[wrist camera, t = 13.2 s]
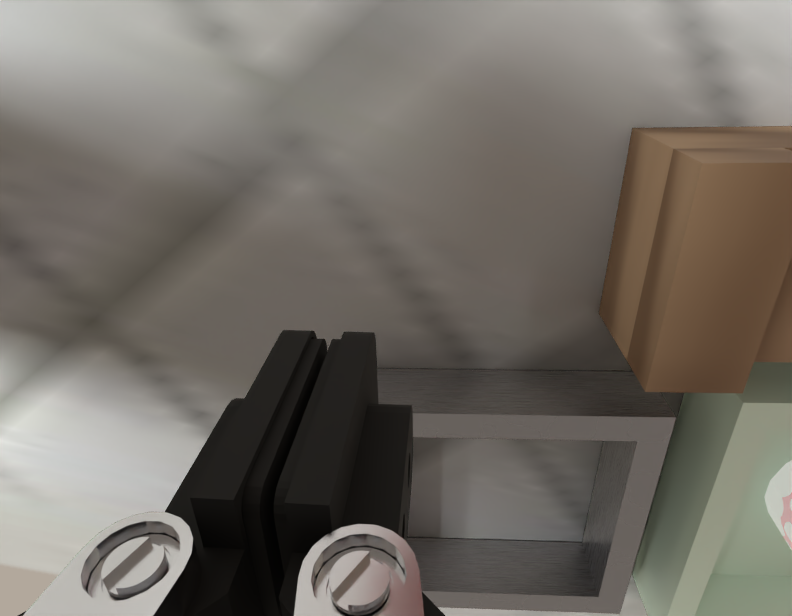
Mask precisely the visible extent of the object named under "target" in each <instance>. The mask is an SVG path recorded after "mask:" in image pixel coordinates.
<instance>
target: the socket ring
mask: <svg viewBox="0 0 792 616" xmlns="http://www.w3.org/2000/svg"><path fill="white" fill-rule="evenodd" d="M377 380H378V402H379V404H394V405H412V409H413V437H427V438H481V439H535V440H590V441H603V446H602V450H601V455H600V460H599V464H598V469H597V474H596V479H595V483H594V488H593V493H592V498H591V502H590V507H589V512H588V516H587V521H586V526H585V531H584V535H583V540H582V543H581V542H546V541H511V540H477V539H442V538H407V544H408V545H409V546H410V548H411V549H412V550H413V552H414V553H415V557H416V560H417V563H418V567H419V572H420V581H421V590H422V592H423V593H424V594H425V595H426V596H427V597H428V598H429V599H430V600H431V601H432V602H433V603H434V604H435V606H436V607H450V608H478V609H506V610H534V611H561V612H589V613H617V614H620V611H621V608H622V605H623V601H624V598H625V594H626V591H627V587H628V584H629V580H630V577H631V573H632V570H633V566H634V563H635V559H636V556H637V552H638V549H639V545H640V542H641V538H642V535H643V532H644V528H645V525H646V521H647V518H648V514H649V511H650V507H651V504H652V500H653V497H654V493H655V490H656V486H657V483H658V479H659V476H660V472H661V469H662V465H663V462H664V459H665V455H666V452H667V448H668V445H669V441H670V438H671V434H672V431H673V427H674V424H675V420H676V416H675V415H674V413H673V412H672V410H671V408H670V407H669V405H668V404H667V402H666V401H665V399H664V398H663V396H662V394H661V393H660V392H645V391H644V389H643V387H642V386H641V384H640V382H639V381H638V379H637V377H636V376H635V374H634V372H631V371H544V370H457V369H377Z"/></svg>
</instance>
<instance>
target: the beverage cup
mask: <svg viewBox="0 0 792 616" xmlns="http://www.w3.org/2000/svg"><path fill="white" fill-rule="evenodd" d="M764 498H765V502H766V505H767V509H768V513H769V514H770V516H771V518H772V519H773V521H774V522H775V524H776V526H777V527H778V529H779V531H780V532H781V534H782V536H783V537H784V539H785V541H786V542H787V544H788V545H789V547H790V549H791V550H792V460H791V461H790V462H788V463H786V464H785V465H784V466H783V467H782V468H781V469H780V470H779V472H778V473H777V474H776V475H775V476H774V477H773V478H772V479H771V480H770V483H769V486H768V488H767V491H766V494H765V497H764Z"/></svg>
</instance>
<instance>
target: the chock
mask: <svg viewBox="0 0 792 616" xmlns="http://www.w3.org/2000/svg"><path fill="white" fill-rule="evenodd" d="M599 315H600V317H601V318H602V320H603V322H604V323H605V325H606V327H607V328H608V330H609V332H610V333H611V335H612V337H613V338H614V340H615V342H616V344H617V345H618V347H619V349H620V350H621V352H622V354H623V355H624V357H625V359H626V360H627V362H628V364H629V365H630V367H631V369H632V370H633V372H634V374H635V376H636V377H637V379H638V381H639V382H640V384H641V386H642V387H643V389H644V391H645V392H681V393H743V391H744V389H745V386H746V383H747V380H748V377H749V375H750V372H751V369H752V366H753V363H754V362H792V126H763V127H672V128H632V133H631V138H630V144H629V149H628V155H627V160H626V166H625V171H624V177H623V182H622V188H621V193H620V199H619V204H618V210H617V215H616V221H615V226H614V232H613V237H612V243H611V248H610V254H609V259H608V265H607V270H606V276H605V281H604V287H603V292H602V298H601V303H600V309H599Z"/></svg>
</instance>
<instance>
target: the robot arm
mask: <svg viewBox="0 0 792 616" xmlns="http://www.w3.org/2000/svg"><path fill="white" fill-rule="evenodd" d="M412 462H413V409H412V405H394V404H379V402H378V380H377V357H376V338H375V334H374V333H369V332H344V333H343V335H342V338H341V339H333V340H332V341H331V344H330V346H329V349H328V352H327V345H326V341H325V339H317V338H316V334H315V332H314V331H295V330H284V331H282V333H281V334H280V336H279V338H278V339H277V341H276V343H275V345H274V347H273V348H272V350H271V352H270V354H269V356H268V357H267V359H266V361H265V363H264V365H263V366H262V368H261V370H260V372H259V374H258V375H257V377H256V379H255V381H254V383H253V384H252V386H251V388H250V390H249V392H248V393H247V395H246V397H245V399H240V398H236V399H234V400H232V401H231V402H230V403H229V405H228V406H227V407H226V409H225V411H224V413H223V414H222V416H221V418H220V419H219V421H218V423H217V424H216V426H215V428H214V429H213V431H212V433H211V435H210V436H209V438H208V440H207V441H206V443H205V445H204V446H203V448H202V450H201V451H200V453H199V455H198V457H197V458H196V460H195V462H194V463H193V465H192V467H191V468H190V470H189V472H188V473H187V475H186V477H185V479H184V480H183V482H182V484H181V485H180V487H179V489H178V490H177V492H176V494H175V495H174V497H173V499H172V501H171V502H170V504H169V506H168V507H167V509H166V511H165V512H147V513H142V514H137V515H133V516H130V517H128V518H125V519H123V520H120V521H118V522H115V523H114V524H112V525H110V526H109V527H107V528H106V529H104V530H103V531H101V532H99V533H98V534H97V535H96V536H95V537H94V538H92V539H91V540H90V541H89V542H88V543H87V544H86V545H85V546H84V547H83V548H82V549H81V550H80V551H79V552H78V553H77V555H76V556H75V557H74V558H73V559H72V560H71V561H70V563H69V564H68V565H67V566H66V567H65V568H64V569H63V570H62V572H61V573H60V574H59V575H58V576H57V577H56V578H55V580H54V581H53V582H52V583H51V584H50V585H49V586H48V588H47V589H46V590H45V591H44V592H43V593H42V594H41V595H40V597H39V598H38V599H37V600H36V601H35V602H34V603H33V605H32V606H31V607H30V608H29V609H28V610H27V611H26V612H24V613H22V614H20V615H18V616H445V615H444V614H443V613H442V612H441V611H440V610H439V609H438V608H437V607H436V606H435V604H434V603H433V602H432V601H431V600H430V599H429V598H428V597H427V596H426V595H425V594H424V593H423V592H422V590H421V581H420V572H419V567H418V563H417V560H416V557H415V553H414V552H413V550H412V549H411V548H410V546H409V545H408V544H407V531H408V519H409V507H410V495H411V482H412Z"/></svg>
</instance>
